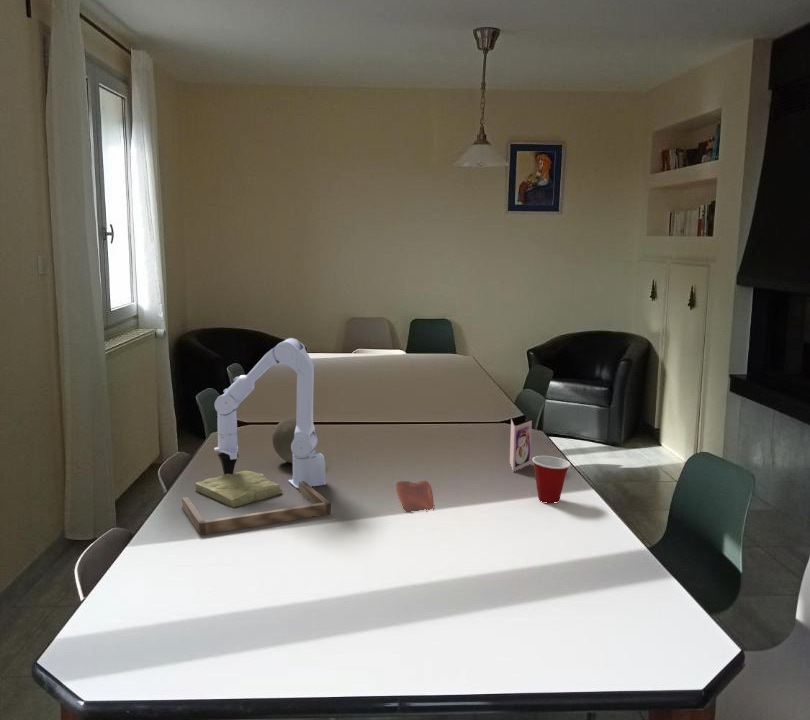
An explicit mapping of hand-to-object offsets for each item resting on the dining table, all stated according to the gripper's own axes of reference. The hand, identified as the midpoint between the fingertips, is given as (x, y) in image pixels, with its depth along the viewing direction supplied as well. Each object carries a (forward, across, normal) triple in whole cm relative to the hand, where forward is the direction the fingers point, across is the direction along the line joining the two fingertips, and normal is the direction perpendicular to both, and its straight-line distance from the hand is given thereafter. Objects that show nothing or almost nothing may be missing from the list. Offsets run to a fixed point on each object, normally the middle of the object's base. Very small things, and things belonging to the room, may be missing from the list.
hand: (228, 476), depth 237 cm
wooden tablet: (+2, +37, +45) cm, 58 cm away
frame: (+1, +29, 0) cm, 29 cm away
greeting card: (+2, +24, +88) cm, 91 cm away
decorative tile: (+2, +11, +1) cm, 11 cm away
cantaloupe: (+2, -10, +24) cm, 26 cm away
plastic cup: (+2, +56, +78) cm, 96 cm away
